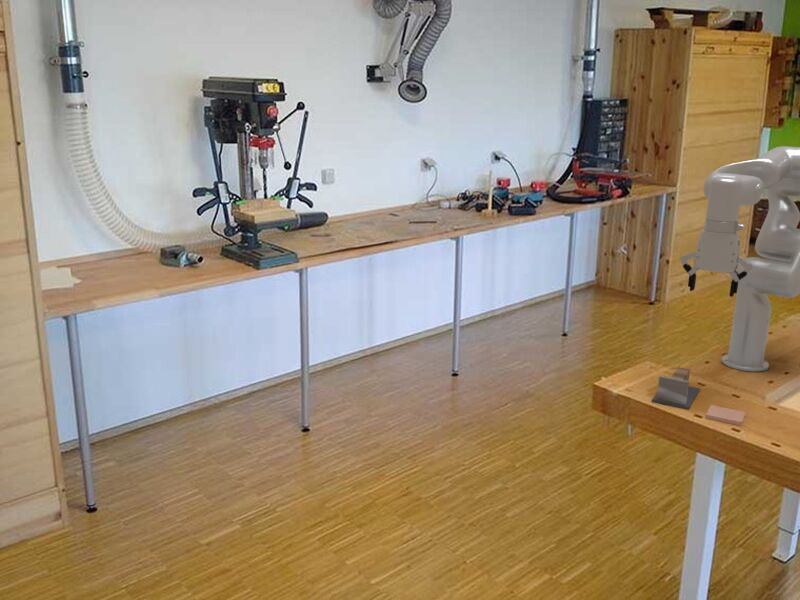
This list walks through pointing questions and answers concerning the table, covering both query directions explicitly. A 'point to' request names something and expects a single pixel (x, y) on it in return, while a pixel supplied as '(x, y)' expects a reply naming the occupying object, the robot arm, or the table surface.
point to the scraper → (674, 386)
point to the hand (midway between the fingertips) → (711, 292)
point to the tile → (725, 415)
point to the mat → (690, 398)
